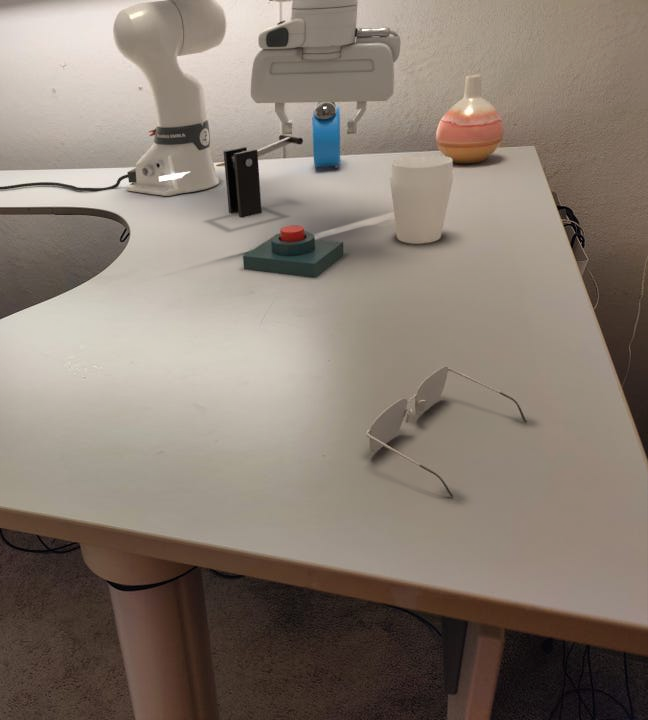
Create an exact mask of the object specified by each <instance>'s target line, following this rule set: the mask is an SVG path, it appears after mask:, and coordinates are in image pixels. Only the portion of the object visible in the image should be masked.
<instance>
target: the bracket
mask: <svg viewBox="0 0 648 720" xmlns="http://www.w3.org/2000/svg"><path fill="white" fill-rule="evenodd" d="M257 150H258V149H256V148H255V149H249V150H248V149H247V146H241V147H236V148H232V149H227V150H223V163H224V173H225V184H226V185H225V186H226V198H227V207H228V213H229V214H236V213H238V218H241V219H242V218H246V217H250V216H255V215H259V214H262V199H261V184H260V169H259V157H258V152H257ZM241 151H244V152H241ZM232 155H234V164H235V169H233V165H232V161H231V157H230V156H232Z"/></svg>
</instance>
